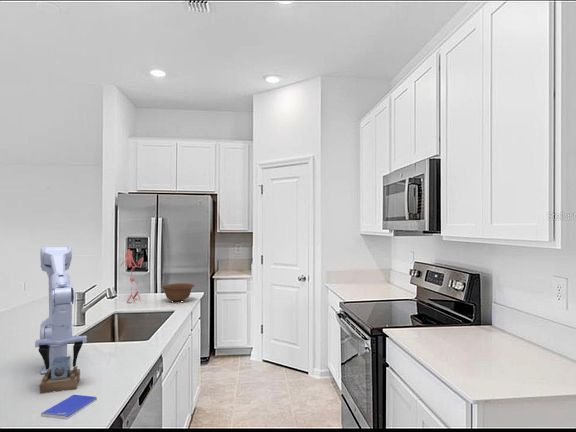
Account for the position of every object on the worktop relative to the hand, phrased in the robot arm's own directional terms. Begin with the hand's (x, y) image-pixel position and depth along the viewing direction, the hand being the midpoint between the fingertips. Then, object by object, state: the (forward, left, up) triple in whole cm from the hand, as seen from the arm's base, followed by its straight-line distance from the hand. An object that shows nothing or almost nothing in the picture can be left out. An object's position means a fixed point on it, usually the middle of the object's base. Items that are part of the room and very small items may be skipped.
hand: (61, 366), depth 134 cm
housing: (0, 0, -3) cm, 3 cm away
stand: (0, 0, -6) cm, 6 cm away
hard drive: (+19, +5, -7) cm, 21 cm away
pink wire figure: (-144, +20, -6) cm, 146 cm away
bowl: (-133, +51, -6) cm, 142 cm away
